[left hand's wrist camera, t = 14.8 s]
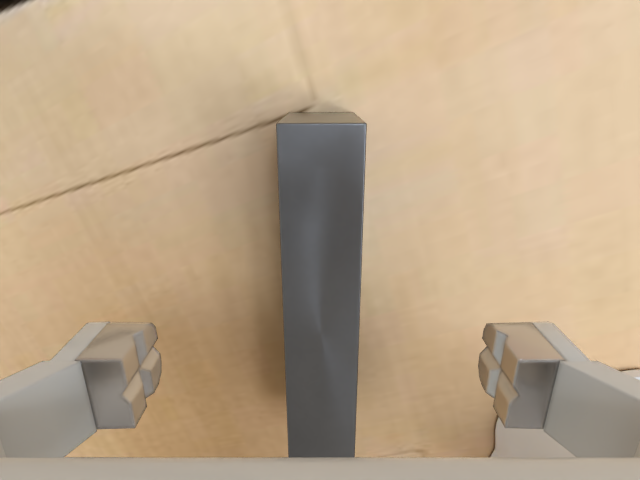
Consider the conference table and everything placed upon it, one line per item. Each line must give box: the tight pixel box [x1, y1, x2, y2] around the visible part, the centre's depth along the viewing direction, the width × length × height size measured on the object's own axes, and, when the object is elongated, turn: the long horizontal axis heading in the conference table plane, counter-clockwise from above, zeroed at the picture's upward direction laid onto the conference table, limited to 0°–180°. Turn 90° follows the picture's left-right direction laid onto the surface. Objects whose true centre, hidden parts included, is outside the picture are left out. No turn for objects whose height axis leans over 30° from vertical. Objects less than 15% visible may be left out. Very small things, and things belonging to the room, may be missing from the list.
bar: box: [276, 112, 367, 457], centre depth 33 cm, size 28×5×9 cm, turn 0°
